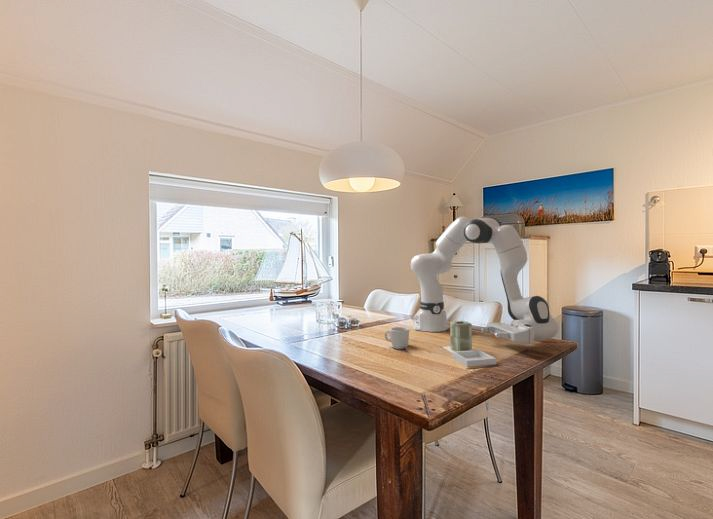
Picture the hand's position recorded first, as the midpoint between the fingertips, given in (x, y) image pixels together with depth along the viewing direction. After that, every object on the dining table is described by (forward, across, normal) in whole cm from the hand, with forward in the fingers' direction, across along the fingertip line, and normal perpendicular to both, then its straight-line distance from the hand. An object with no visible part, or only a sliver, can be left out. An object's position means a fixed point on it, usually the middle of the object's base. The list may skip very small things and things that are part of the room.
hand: (488, 332), depth 143 cm
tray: (+14, +13, +7) cm, 20 cm away
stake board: (+12, -2, +7) cm, 14 cm away
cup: (+34, -14, +7) cm, 38 cm away
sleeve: (+12, 0, +6) cm, 14 cm away
